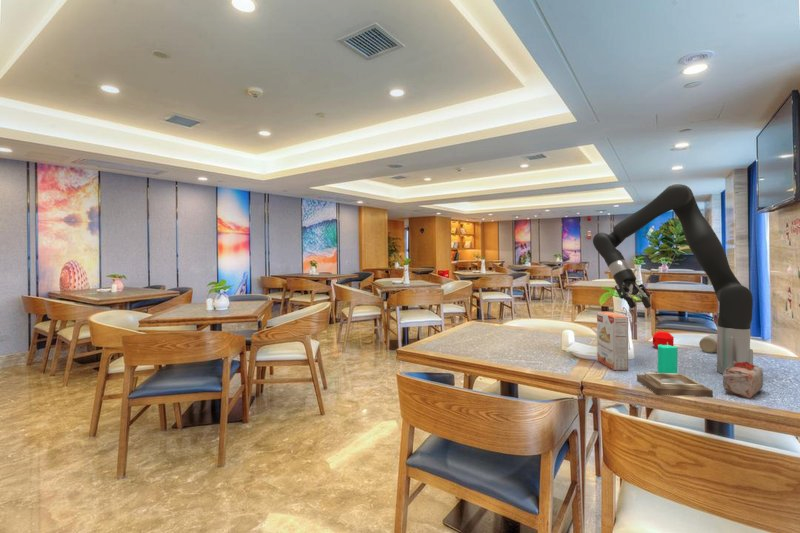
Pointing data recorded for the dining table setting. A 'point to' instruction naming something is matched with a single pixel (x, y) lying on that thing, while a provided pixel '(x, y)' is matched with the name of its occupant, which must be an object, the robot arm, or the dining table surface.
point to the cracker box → (612, 340)
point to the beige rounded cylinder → (709, 343)
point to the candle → (667, 359)
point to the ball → (662, 338)
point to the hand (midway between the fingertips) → (641, 307)
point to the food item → (743, 379)
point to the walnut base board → (673, 384)
